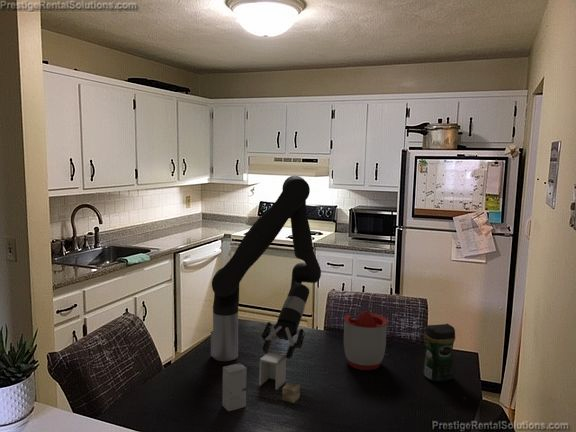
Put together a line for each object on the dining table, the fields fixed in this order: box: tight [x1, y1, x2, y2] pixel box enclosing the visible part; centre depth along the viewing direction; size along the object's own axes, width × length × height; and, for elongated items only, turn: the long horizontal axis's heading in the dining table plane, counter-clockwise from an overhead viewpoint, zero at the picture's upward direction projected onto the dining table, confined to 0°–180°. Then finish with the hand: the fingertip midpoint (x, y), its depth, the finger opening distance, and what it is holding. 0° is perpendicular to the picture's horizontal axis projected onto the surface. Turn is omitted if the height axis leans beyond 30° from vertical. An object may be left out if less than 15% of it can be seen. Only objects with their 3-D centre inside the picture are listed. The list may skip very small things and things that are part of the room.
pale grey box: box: [258, 351, 287, 390], centre depth 154 cm, size 6×6×9 cm
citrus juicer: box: [343, 310, 389, 371], centre depth 170 cm, size 16×17×20 cm
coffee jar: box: [423, 323, 456, 382], centre depth 161 cm, size 10×8×19 cm
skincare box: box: [222, 362, 247, 412], centre depth 140 cm, size 6×4×12 cm
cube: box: [282, 382, 301, 404], centre depth 145 cm, size 4×4×4 cm
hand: (276, 355), depth 156 cm, fingers open, 8 cm apart
